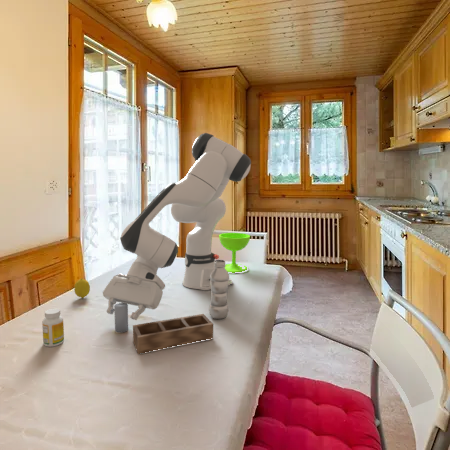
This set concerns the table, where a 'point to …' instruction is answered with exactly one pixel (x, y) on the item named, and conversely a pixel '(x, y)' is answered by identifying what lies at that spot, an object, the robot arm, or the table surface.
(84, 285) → the lemon
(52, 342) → the supplement bottle
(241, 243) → the wineglass
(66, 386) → the table surface
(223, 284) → the plastic bottle
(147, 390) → the table surface
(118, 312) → the slate peg
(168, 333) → the walnut rack
